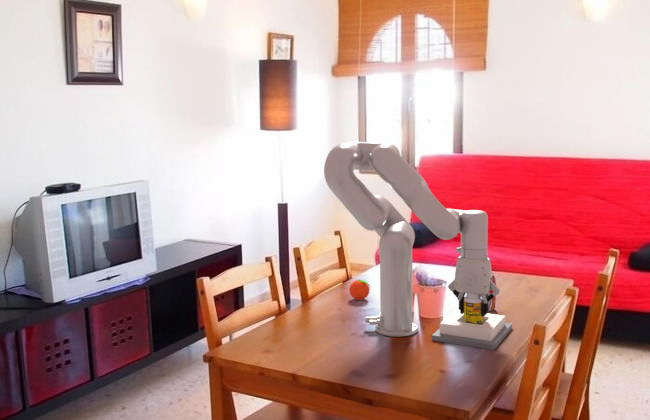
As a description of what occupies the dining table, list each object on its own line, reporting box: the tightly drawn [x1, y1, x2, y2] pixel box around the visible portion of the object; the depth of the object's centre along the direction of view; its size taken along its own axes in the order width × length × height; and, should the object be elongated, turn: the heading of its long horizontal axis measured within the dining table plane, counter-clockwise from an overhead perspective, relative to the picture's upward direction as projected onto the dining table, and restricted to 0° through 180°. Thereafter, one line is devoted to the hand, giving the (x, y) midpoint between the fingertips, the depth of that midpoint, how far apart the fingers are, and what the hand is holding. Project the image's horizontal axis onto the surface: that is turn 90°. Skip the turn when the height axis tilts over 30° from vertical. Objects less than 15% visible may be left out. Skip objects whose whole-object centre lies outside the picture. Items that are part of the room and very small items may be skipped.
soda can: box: [481, 272, 497, 312], centre depth 227 cm, size 7×7×12 cm
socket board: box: [431, 308, 513, 351], centre depth 205 cm, size 20×18×4 cm
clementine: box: [349, 279, 371, 301], centre depth 241 cm, size 8×7×7 cm
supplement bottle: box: [464, 293, 483, 325], centre depth 204 cm, size 6×6×10 cm
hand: (473, 313), depth 204 cm, fingers closed on supplement bottle, 5 cm apart
